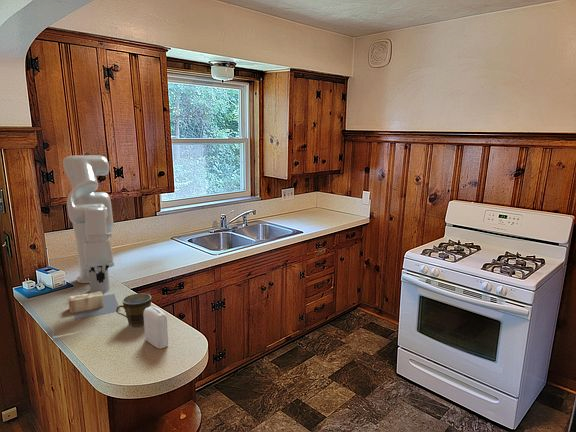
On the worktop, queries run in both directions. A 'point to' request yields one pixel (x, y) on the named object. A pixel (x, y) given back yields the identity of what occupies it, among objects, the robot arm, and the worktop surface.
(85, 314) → the rubber mat
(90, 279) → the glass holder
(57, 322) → the worktop surface
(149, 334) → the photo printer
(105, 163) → the robot arm
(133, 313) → the ceramic cup
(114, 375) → the worktop surface
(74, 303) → the maple block
